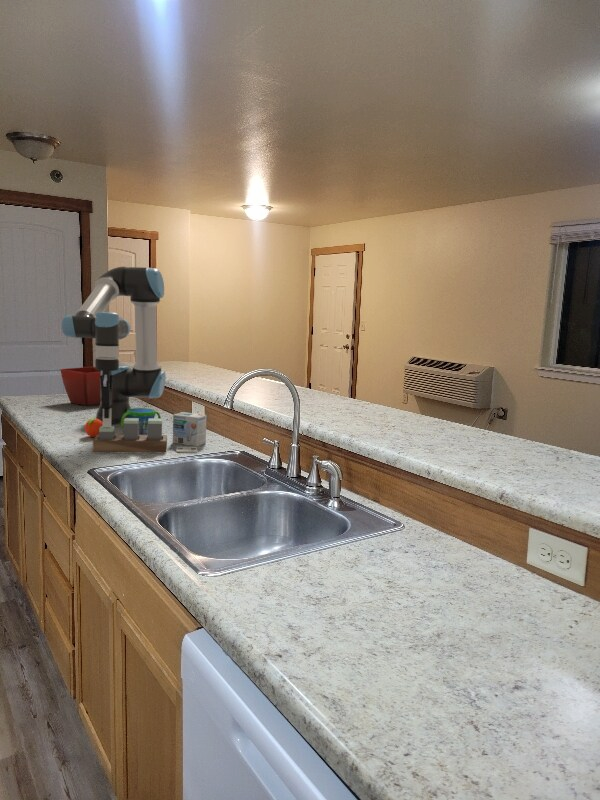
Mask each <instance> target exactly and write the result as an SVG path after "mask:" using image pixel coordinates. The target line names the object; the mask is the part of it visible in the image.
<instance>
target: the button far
mask: <svg viewBox="0 0 600 800" xmlns="http://www.w3.org/2000/svg"><path fill="white" fill-rule="evenodd" d="M162 435H163V418H161V419H158V418H155V417H154V418H149V419H148V440H162Z"/></svg>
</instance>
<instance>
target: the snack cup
mask: <svg viewBox="0 0 600 800" xmlns="http://www.w3.org/2000/svg"><path fill="white" fill-rule="evenodd" d="M127 415H128V418H139V435H148V419H149V418H155V417H156V415H157V417H158V419H162V416H161V414H160V413H159V412H158V411H156V409H153V408H149V407H148V408H146V407H139V408H138V407H137V408H135V407H134V408H131V409H128V410H127V412H126V413H124V415H123V416H122V419H121V423H120V426H121V429H122V430H124V419H125V417H126V416H127Z"/></svg>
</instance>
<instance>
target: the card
mask: <svg viewBox="0 0 600 800" xmlns="http://www.w3.org/2000/svg"><path fill="white" fill-rule="evenodd" d="M177 452H180V453H181V454H182V453H183V454H184V453H186V454H187V453H189V454H193V453H195V454H197V453H198V446H176V453H177Z"/></svg>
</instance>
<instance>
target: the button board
mask: <svg viewBox="0 0 600 800" xmlns="http://www.w3.org/2000/svg"><path fill="white" fill-rule="evenodd" d="M167 448H168V434H162V440H148V435H139V438H138V440H124V434H115V439H99V435H96V437H93V440H92V453H93V452H95V453H96V452H166V453H167Z"/></svg>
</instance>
